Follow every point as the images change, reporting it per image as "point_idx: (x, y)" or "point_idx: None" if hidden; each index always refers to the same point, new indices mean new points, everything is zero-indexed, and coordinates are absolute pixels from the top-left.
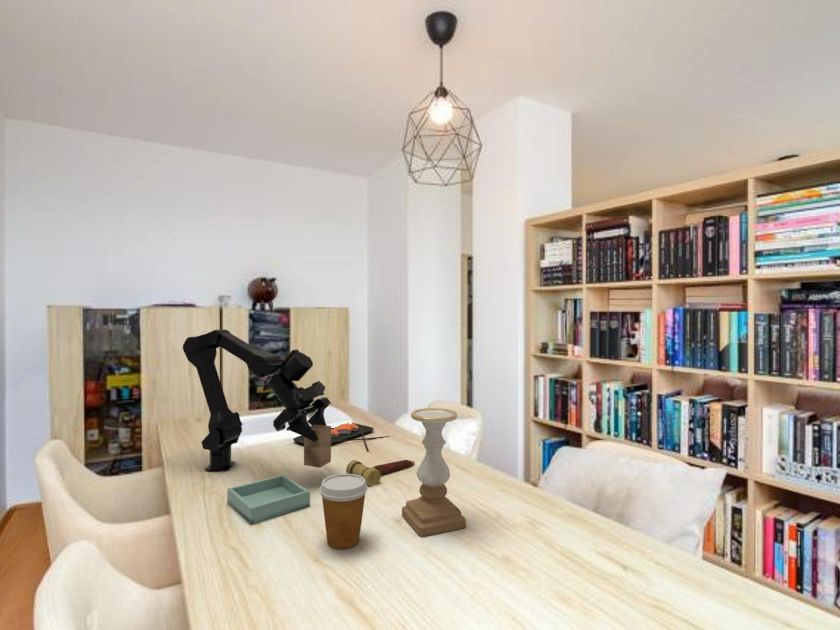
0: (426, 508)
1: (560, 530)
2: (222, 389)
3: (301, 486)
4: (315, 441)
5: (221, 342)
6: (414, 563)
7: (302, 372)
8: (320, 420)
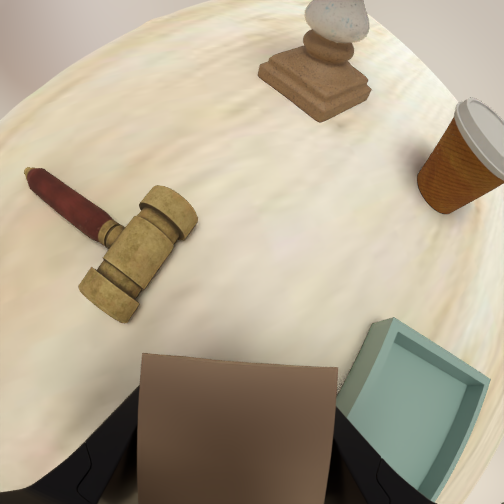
0: (352, 68)
1: (270, 10)
2: None
3: (374, 365)
4: None
5: None
6: (416, 106)
7: None
8: (112, 490)
